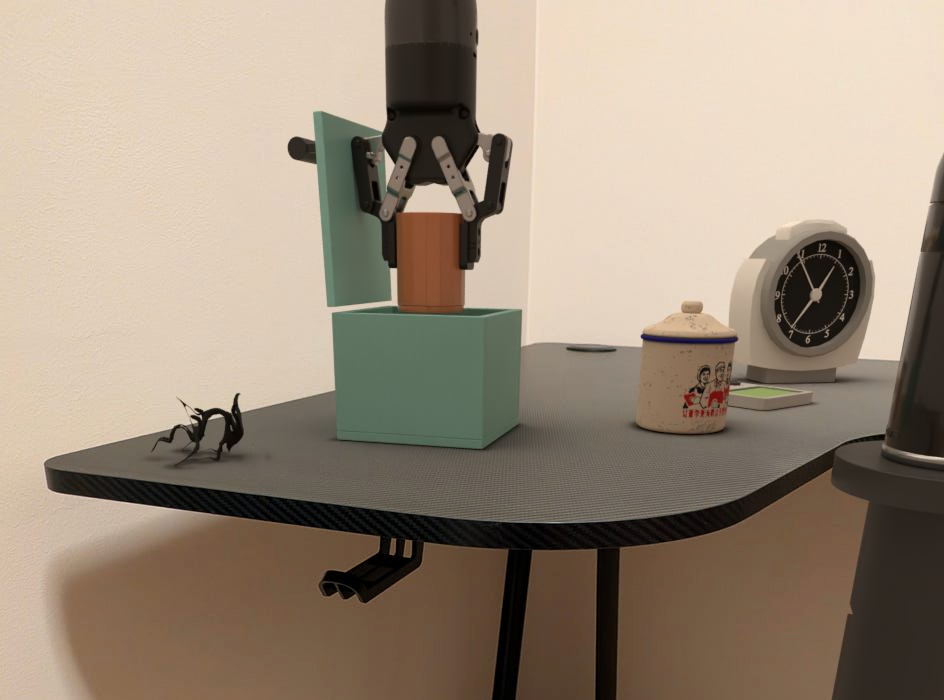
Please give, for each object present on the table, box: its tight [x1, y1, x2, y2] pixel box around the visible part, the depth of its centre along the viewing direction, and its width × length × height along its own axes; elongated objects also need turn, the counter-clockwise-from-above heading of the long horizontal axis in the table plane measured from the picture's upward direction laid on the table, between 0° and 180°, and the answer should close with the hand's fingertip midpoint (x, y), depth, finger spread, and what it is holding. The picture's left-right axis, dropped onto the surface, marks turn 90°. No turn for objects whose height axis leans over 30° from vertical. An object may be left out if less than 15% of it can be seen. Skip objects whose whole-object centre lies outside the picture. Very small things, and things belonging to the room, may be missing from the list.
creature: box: [150, 392, 245, 467], centre depth 73 cm, size 8×5×8 cm
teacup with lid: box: [635, 300, 738, 435], centre depth 88 cm, size 12×9×12 cm
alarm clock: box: [728, 218, 876, 384], centre depth 122 cm, size 18×8×20 cm, turn 104°
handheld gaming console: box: [728, 379, 814, 411], centre depth 108 cm, size 10×2×15 cm
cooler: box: [331, 305, 523, 450], centre depth 84 cm, size 14×14×11 cm
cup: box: [396, 211, 466, 314], centre depth 80 cm, size 6×6×8 cm
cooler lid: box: [287, 110, 393, 308], centre depth 81 cm, size 15×14×5 cm
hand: (431, 268), depth 80 cm, fingers closed on cup, 6 cm apart
